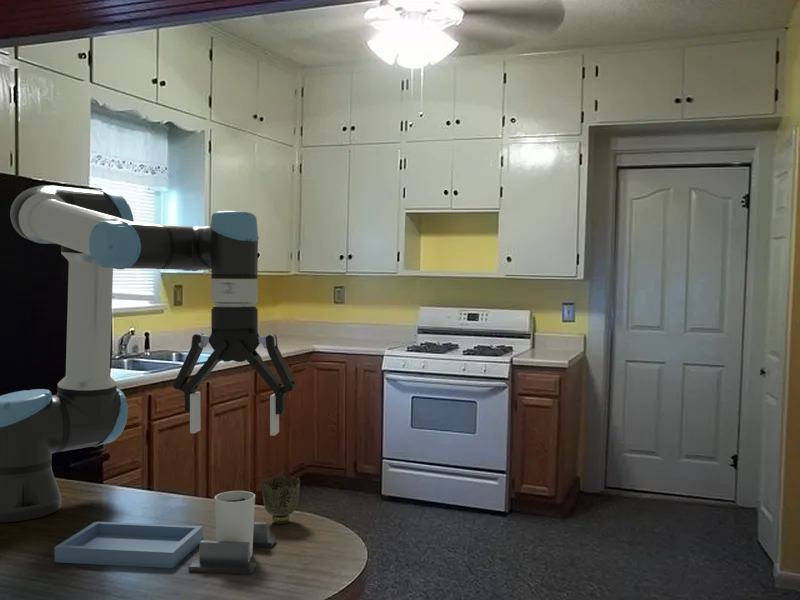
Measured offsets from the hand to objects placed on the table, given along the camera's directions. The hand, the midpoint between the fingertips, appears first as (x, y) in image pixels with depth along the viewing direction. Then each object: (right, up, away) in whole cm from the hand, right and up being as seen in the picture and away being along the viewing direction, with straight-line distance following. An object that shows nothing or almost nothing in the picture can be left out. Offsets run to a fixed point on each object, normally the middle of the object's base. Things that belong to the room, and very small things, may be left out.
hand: (234, 433), depth 124 cm
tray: (-18, -20, +3) cm, 27 cm away
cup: (+5, -20, +18) cm, 28 cm away
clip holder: (0, -21, +1) cm, 21 cm away
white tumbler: (0, -21, +1) cm, 21 cm away
